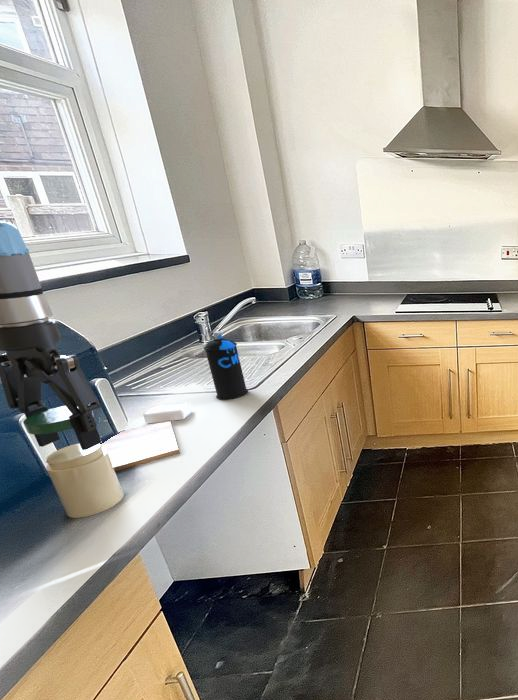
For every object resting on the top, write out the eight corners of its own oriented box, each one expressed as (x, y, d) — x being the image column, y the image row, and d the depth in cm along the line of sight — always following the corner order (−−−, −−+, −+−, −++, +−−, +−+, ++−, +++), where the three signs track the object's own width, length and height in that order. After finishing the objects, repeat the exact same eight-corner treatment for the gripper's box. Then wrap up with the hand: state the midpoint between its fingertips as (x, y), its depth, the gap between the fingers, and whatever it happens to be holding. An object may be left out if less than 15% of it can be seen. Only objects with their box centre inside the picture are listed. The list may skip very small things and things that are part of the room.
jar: (68, 502, 80) (44, 450, 76) (123, 485, 85) (104, 435, 81) (65, 524, 74) (39, 469, 70) (124, 504, 79) (103, 452, 75)
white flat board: (99, 441, 102) (98, 437, 101) (171, 423, 111) (170, 419, 110) (97, 476, 88) (96, 472, 87) (179, 452, 97) (178, 448, 96)
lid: (48, 437, 69) (44, 427, 68) (14, 431, 71) (10, 421, 70) (105, 415, 76) (102, 406, 76) (73, 410, 78) (70, 401, 78)
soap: (192, 411, 117) (190, 401, 116) (184, 420, 112) (181, 410, 111) (154, 415, 114) (151, 405, 113) (145, 424, 110) (141, 414, 109)
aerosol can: (209, 398, 125) (192, 334, 119) (233, 388, 133) (217, 327, 126) (232, 401, 124) (215, 336, 117) (254, 390, 131) (240, 329, 124)
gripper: (-66, 325, 65) (-5, 451, 73) (48, 330, 62) (99, 460, 70) (-4, 314, 72) (45, 430, 80) (101, 319, 69) (142, 438, 77)
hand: (70, 444), depth 75 cm, fingers closed on lid, 8 cm apart
